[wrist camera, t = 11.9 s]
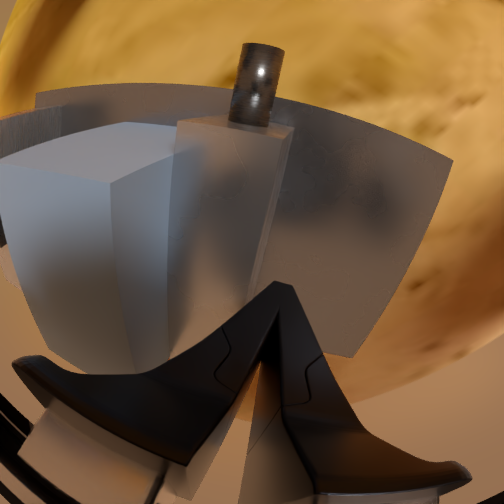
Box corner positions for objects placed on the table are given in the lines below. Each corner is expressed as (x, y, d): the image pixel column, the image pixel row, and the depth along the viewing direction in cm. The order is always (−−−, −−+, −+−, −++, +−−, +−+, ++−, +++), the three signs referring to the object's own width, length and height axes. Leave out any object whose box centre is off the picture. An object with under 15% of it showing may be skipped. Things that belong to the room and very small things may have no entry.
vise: (443, 155, 9) (532, 207, 4) (351, 345, 15) (353, 437, 10) (47, 91, 11) (-34, 110, 6) (57, 251, 17) (3, 297, 12)
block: (227, 134, 10) (110, 183, 4) (205, 291, 14) (145, 402, 8) (125, 121, 10) (-8, 162, 5) (125, 264, 15) (49, 349, 9)
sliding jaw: (308, 68, 8) (305, 38, 4) (239, 348, 16) (219, 409, 12) (241, 56, 8) (194, 27, 4) (200, 336, 16) (172, 393, 12)
